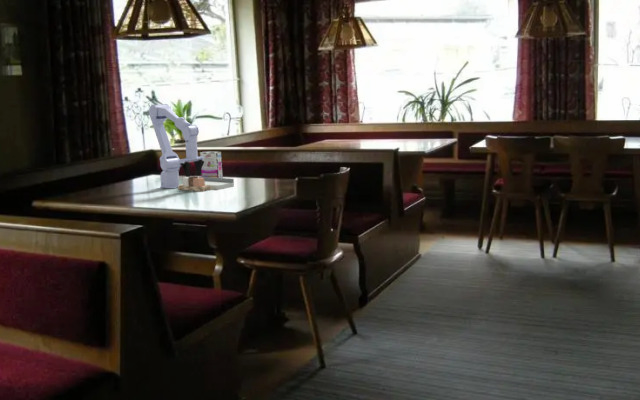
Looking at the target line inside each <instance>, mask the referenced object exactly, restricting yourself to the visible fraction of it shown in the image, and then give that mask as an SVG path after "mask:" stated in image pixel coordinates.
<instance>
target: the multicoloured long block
mask: <svg viewBox="0 0 640 400" xmlns="http://www.w3.org/2000/svg"><path fill="white" fill-rule="evenodd" d="M188 178H189V186H183V183H182V184H179V185H178V187H177V188H178V189H177V190H182V191H183V190H184V191H192V190H195V191H196V192H206V191H207V190H208V191H211V189H210V186H201V187H195V186H193V179H194V178H199V176H197V175H195V176H190V177H188ZM208 191H207V192H208Z"/></svg>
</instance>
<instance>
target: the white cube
mask: <svg viewBox="0 0 640 400" xmlns="http://www.w3.org/2000/svg"><path fill="white" fill-rule="evenodd" d="M182 184H183V186H189V178H188V177H186V176H185V177H182Z"/></svg>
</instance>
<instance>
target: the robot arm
mask: <svg viewBox="0 0 640 400" xmlns="http://www.w3.org/2000/svg"><path fill="white" fill-rule="evenodd" d="M148 114H149V117H150V121H151V125H152V127H153V131H154V133H155V135H156V139H157V141H158V145H159V147H160V148H159V149H160V151H161V156H160V157H159V162H160V165H159V166H160V168H161V170H162V171H161V172H160V186H159V188H160V189H161V188H163V189H177V188H178V185H180V177H179V175H180V174H179V171H180V169H181V167H182V169H183V171H184V174H185V177H191V165H192V162H193V163H194V166H195V173H196V176H197V175H198V176H200V175H201V169H202V166H203V164H204V161H202V160H204V156H200V155H198V138H197V136H198V135H199V128H198V126H197V125H196V124H191V123H190V121H189V122H188V121H187V120H186V118H185V117H182V116H181V117H179V115H177V114H176V113H175V112H174V111H173V109H172V107H171V106H170V105H169V104H167V103H164V104H162V103H161V104H151V105H150V107H149V109H148ZM168 119H169V120H171V121H172V122H174V126H175V127H176V129H178V130H179V131H181V134H182V136H183V140H184V141H185V144H184V145H185V155H186V157H185V158H181V159H180V157H179V154H178V153H176V152H175V151H173V149H172V146H171V142H170V140H169V136H168V134H167V131H166V128H165V125H164V122H166V121H167V120H168Z"/></svg>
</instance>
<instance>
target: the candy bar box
mask: <svg viewBox="0 0 640 400" xmlns="http://www.w3.org/2000/svg"><path fill="white" fill-rule="evenodd" d="M200 156H204V160H202V161H204V164H203V166H202V169H201V177H216V178H224V177H223V166H222V165H223V161H222V151H202V152H201V151H200V152H199V157H200Z"/></svg>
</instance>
